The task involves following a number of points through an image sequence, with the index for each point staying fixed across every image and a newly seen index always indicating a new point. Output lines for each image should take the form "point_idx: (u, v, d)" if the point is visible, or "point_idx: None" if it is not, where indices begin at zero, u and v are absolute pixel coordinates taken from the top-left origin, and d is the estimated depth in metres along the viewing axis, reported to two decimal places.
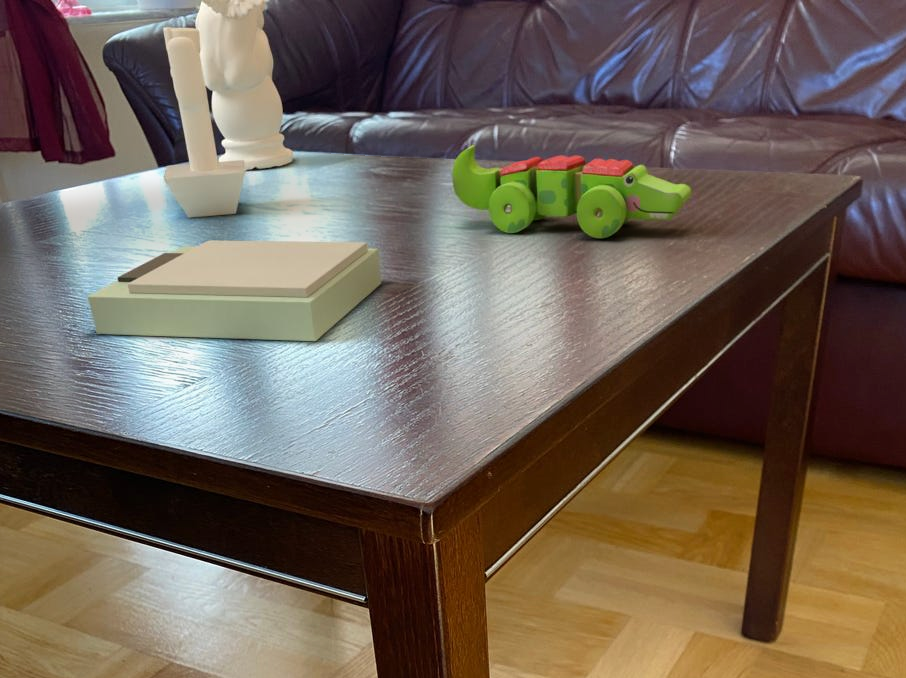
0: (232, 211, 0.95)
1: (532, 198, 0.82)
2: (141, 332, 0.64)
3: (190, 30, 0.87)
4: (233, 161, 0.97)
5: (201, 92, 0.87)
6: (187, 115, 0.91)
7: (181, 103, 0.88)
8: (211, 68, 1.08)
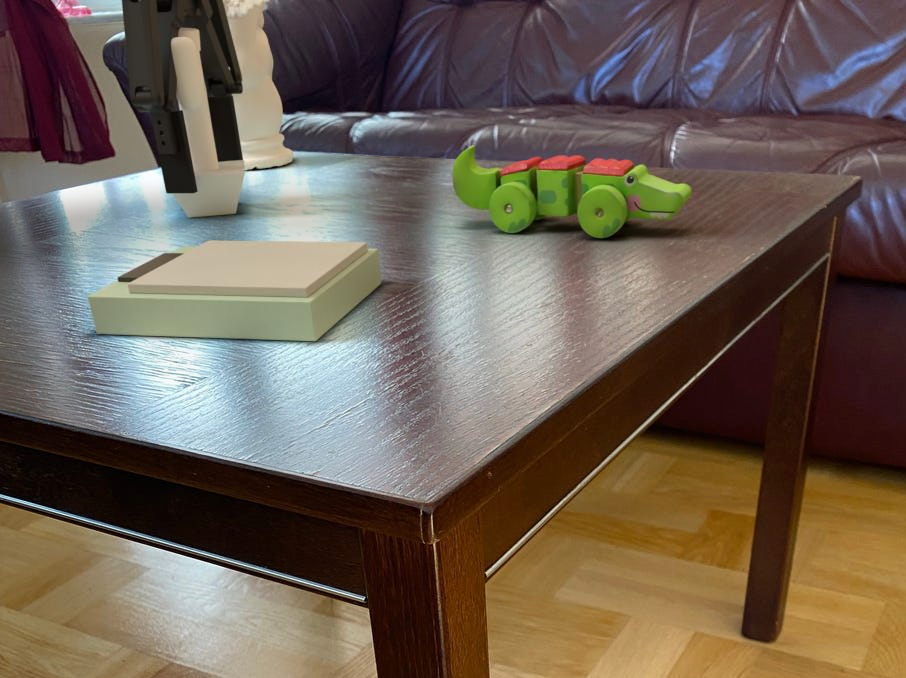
0: (232, 211, 0.95)
1: (533, 198, 0.82)
2: (141, 332, 0.64)
3: (190, 30, 0.87)
4: (233, 161, 0.97)
5: (201, 92, 0.87)
6: (187, 115, 0.91)
7: (181, 103, 0.88)
8: None
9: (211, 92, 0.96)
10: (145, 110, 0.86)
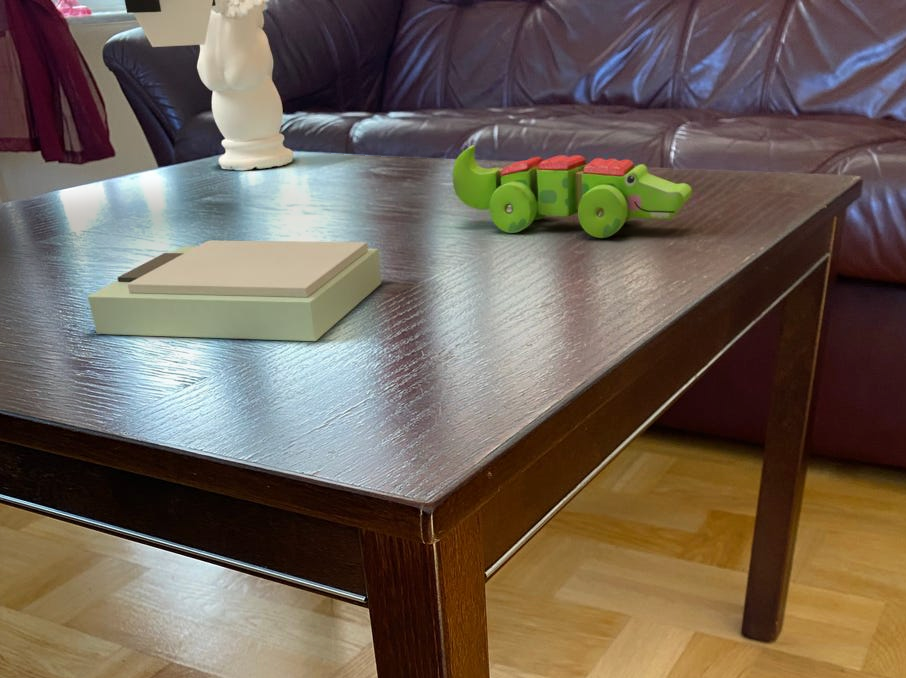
0: (200, 41, 0.87)
1: (533, 198, 0.82)
2: (141, 332, 0.64)
3: None
4: None
5: None
6: None
7: None
8: (211, 68, 1.08)
9: None
10: None
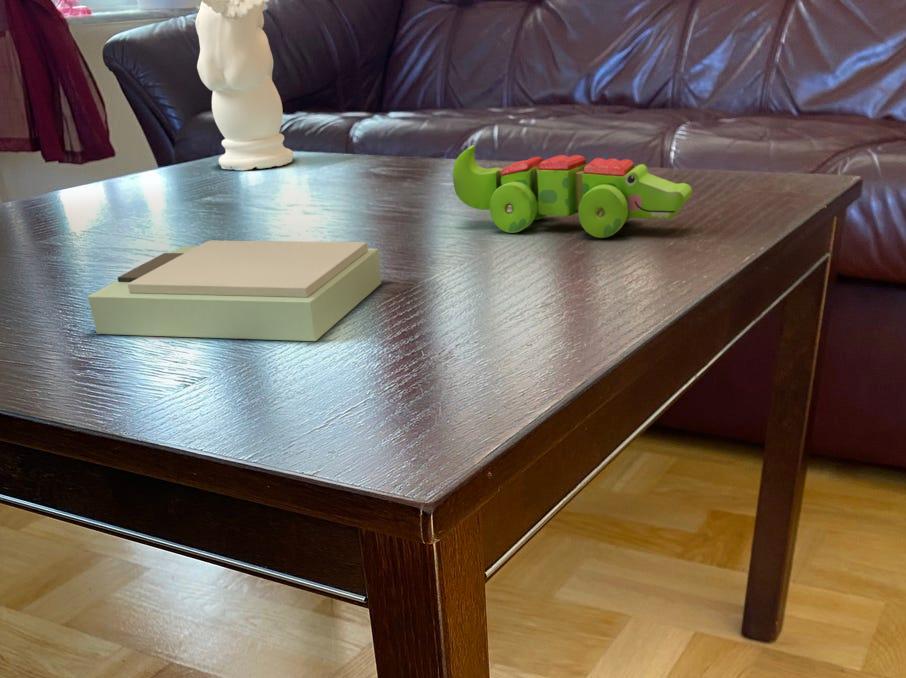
0: None
1: (533, 198, 0.82)
2: (141, 332, 0.64)
3: None
4: None
5: None
6: None
7: None
8: (211, 68, 1.08)
9: None
10: None
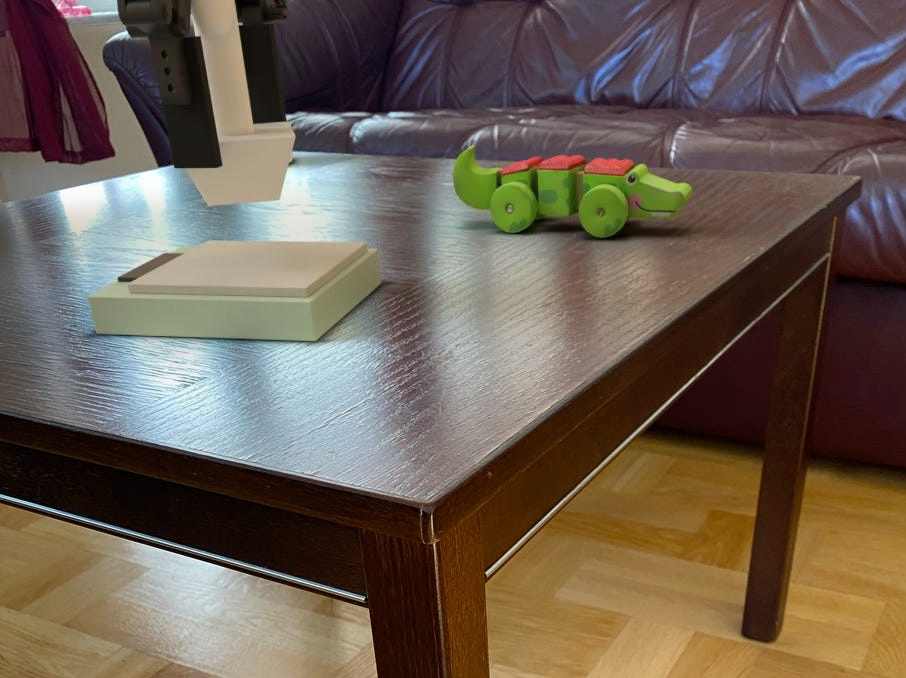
0: (274, 196, 0.63)
1: (533, 198, 0.82)
2: (141, 332, 0.64)
3: None
4: (274, 123, 0.66)
5: (231, 8, 0.56)
6: (207, 48, 0.59)
7: (199, 25, 0.56)
8: None
9: (241, 19, 0.64)
10: (141, 35, 0.55)
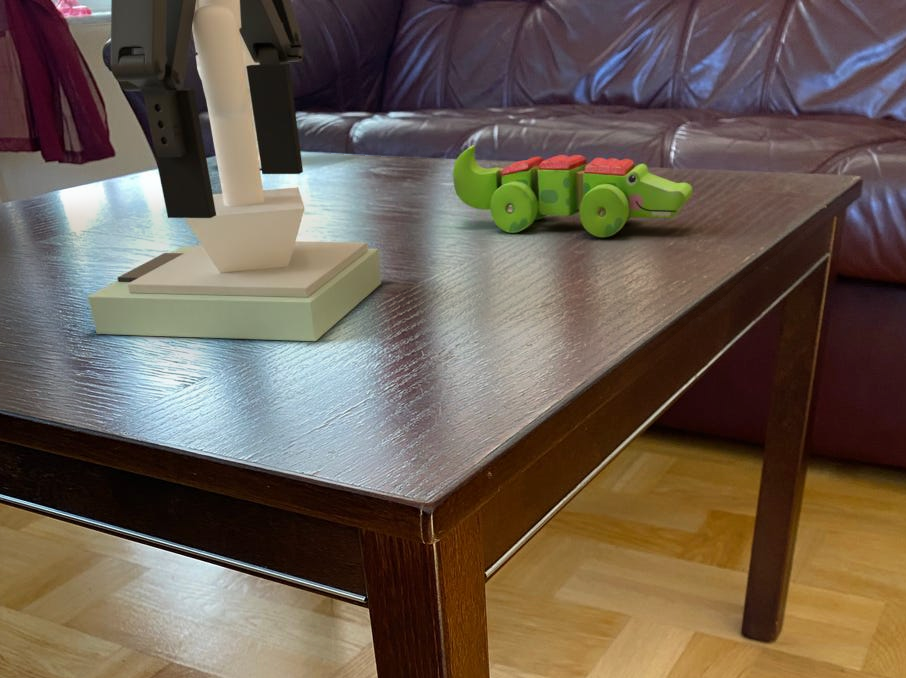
0: (283, 263, 0.65)
1: (534, 198, 0.82)
2: (141, 332, 0.64)
3: None
4: (283, 189, 0.68)
5: (244, 90, 0.58)
6: (220, 124, 0.61)
7: (213, 106, 0.58)
8: None
9: (259, 60, 0.67)
10: (134, 86, 0.54)
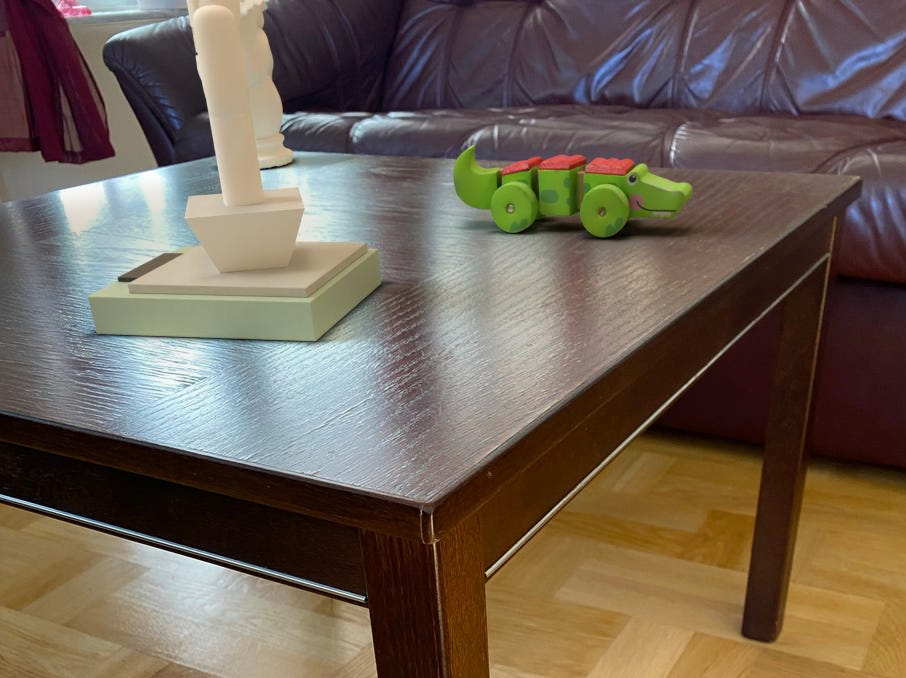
0: (283, 263, 0.65)
1: (534, 198, 0.82)
2: (141, 332, 0.64)
3: None
4: (283, 189, 0.68)
5: (244, 90, 0.58)
6: (220, 124, 0.61)
7: (213, 106, 0.58)
8: None
9: None
10: None
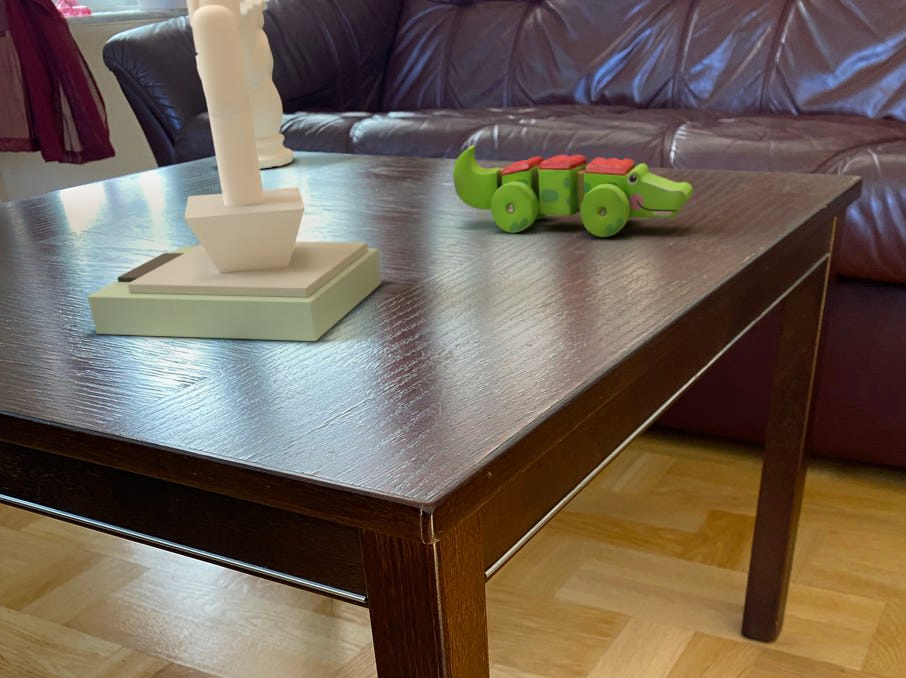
0: (283, 263, 0.65)
1: (534, 197, 0.82)
2: (141, 332, 0.64)
3: None
4: (283, 189, 0.68)
5: (244, 90, 0.58)
6: (220, 124, 0.61)
7: (213, 106, 0.58)
8: None
9: None
10: None
